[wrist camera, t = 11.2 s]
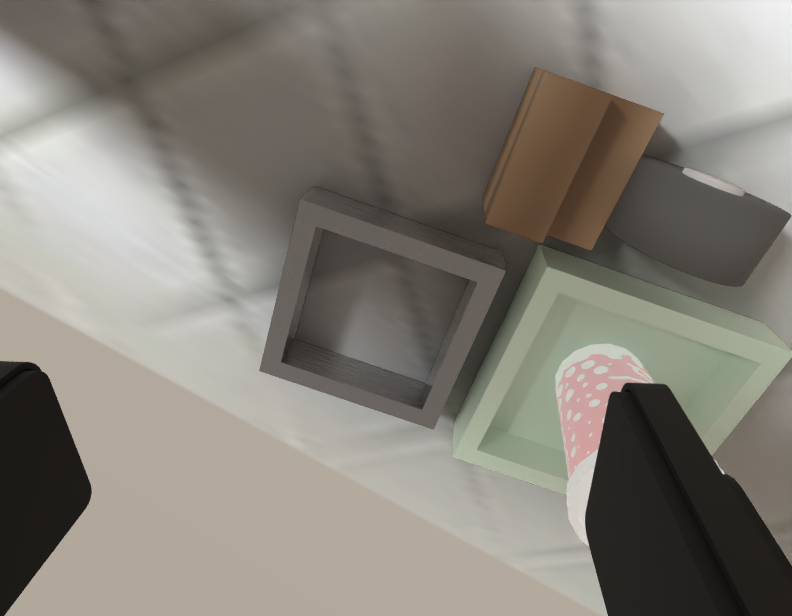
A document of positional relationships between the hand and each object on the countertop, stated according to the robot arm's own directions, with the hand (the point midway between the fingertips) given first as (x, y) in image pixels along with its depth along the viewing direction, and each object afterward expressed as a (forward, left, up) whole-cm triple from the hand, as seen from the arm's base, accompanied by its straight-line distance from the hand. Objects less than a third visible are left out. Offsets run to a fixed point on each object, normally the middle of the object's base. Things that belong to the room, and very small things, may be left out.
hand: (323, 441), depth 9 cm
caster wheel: (+11, +3, -19) cm, 22 cm away
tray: (+13, -7, -19) cm, 24 cm away
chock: (+6, +3, -19) cm, 20 cm away
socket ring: (0, -7, -19) cm, 20 cm away
